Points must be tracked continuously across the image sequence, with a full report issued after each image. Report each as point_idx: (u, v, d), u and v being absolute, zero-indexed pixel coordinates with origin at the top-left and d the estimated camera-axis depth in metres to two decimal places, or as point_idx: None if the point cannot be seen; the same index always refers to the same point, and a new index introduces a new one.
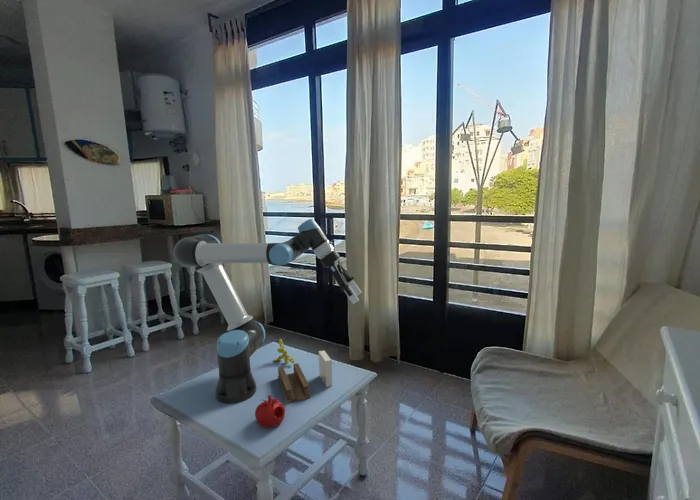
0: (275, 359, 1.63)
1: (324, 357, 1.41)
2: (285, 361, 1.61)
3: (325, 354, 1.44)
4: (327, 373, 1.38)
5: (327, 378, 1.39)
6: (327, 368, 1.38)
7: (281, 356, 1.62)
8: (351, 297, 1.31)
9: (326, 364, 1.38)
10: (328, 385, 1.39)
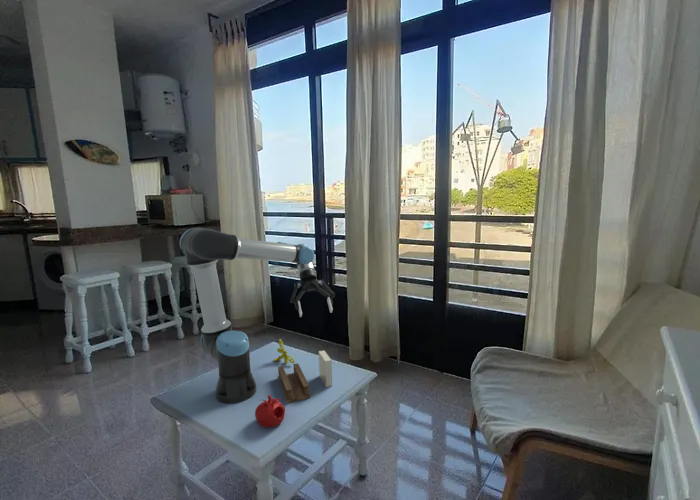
0: (275, 359, 1.63)
1: (324, 357, 1.41)
2: (285, 361, 1.61)
3: (325, 354, 1.44)
4: (327, 373, 1.38)
5: (327, 378, 1.39)
6: (327, 368, 1.38)
7: (281, 356, 1.62)
8: None
9: (326, 364, 1.38)
10: (328, 385, 1.39)
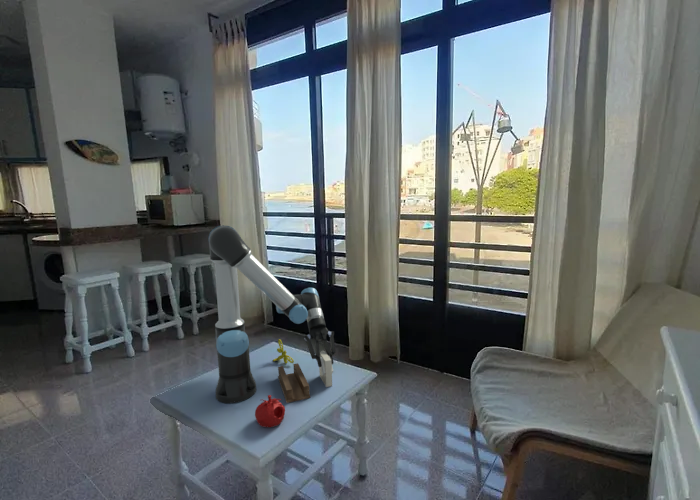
0: (274, 359, 1.63)
1: (324, 357, 1.41)
2: (284, 361, 1.61)
3: (325, 354, 1.44)
4: (327, 373, 1.38)
5: (327, 378, 1.39)
6: (327, 368, 1.38)
7: (280, 356, 1.62)
8: None
9: (326, 364, 1.38)
10: (328, 385, 1.39)
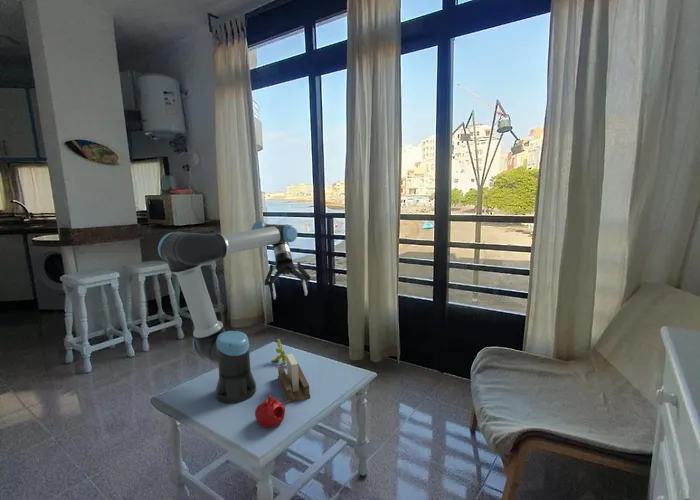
0: (273, 359, 1.63)
1: (291, 361, 1.36)
2: (283, 361, 1.61)
3: (292, 357, 1.39)
4: (293, 377, 1.34)
5: (293, 382, 1.34)
6: (293, 372, 1.33)
7: (279, 356, 1.61)
8: None
9: (292, 368, 1.33)
10: (295, 390, 1.35)
